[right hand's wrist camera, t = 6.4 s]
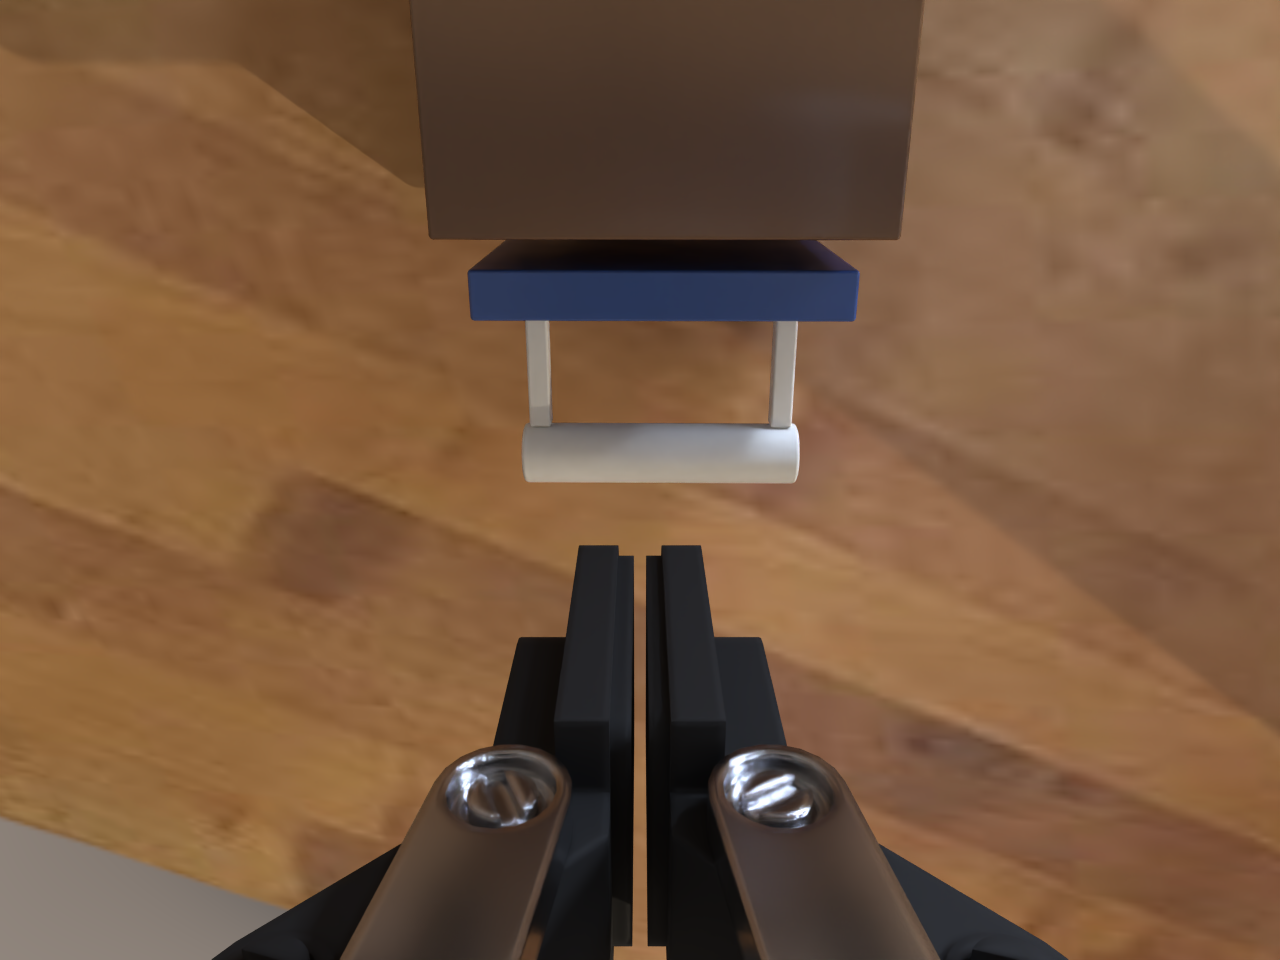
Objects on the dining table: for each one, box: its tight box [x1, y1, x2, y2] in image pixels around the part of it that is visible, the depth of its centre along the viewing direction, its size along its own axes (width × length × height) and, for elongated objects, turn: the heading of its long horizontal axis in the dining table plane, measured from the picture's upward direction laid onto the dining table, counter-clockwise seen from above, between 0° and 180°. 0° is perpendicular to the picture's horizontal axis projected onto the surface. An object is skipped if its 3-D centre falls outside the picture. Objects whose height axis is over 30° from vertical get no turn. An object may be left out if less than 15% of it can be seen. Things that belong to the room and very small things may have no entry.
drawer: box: [468, 240, 860, 483], centre depth 23 cm, size 21×9×8 cm, turn 0°
